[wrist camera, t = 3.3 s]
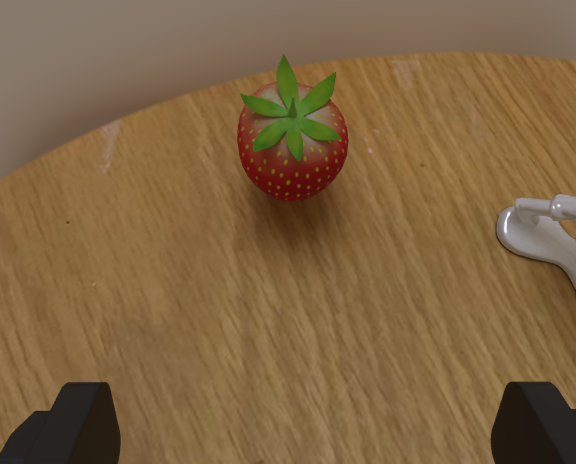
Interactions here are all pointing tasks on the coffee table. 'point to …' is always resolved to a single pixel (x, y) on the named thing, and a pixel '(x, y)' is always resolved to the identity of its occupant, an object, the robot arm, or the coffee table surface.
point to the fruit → (292, 136)
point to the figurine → (540, 231)
